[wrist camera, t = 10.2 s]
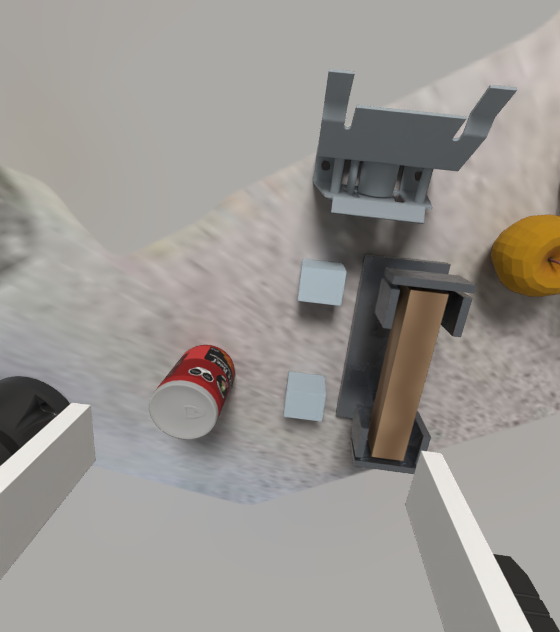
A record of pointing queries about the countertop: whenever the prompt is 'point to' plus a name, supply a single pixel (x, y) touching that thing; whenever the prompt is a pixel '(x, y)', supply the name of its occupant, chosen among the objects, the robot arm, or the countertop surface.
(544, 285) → the apple
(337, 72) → the bracket
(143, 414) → the countertop surface
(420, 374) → the rail
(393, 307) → the bracket
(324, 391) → the rest block
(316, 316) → the countertop surface
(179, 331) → the countertop surface
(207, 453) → the countertop surface
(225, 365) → the canned food
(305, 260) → the rest block
